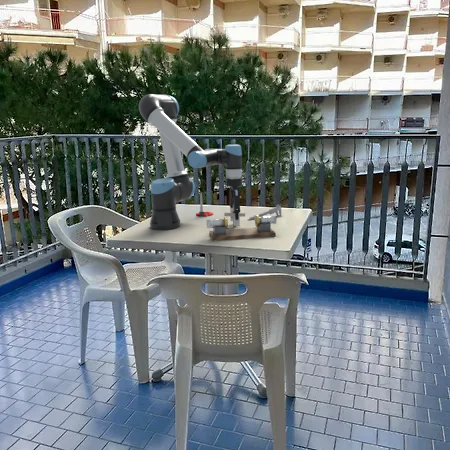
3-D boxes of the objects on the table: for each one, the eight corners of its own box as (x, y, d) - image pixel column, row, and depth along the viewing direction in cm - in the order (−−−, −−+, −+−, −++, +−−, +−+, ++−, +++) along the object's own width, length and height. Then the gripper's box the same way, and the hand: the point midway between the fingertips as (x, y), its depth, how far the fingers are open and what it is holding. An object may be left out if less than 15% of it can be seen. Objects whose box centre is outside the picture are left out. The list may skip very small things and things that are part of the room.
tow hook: (203, 213, 242) (194, 215, 234) (202, 190, 239) (193, 192, 231) (215, 214, 238) (207, 217, 230) (215, 191, 235) (207, 193, 227)
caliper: (280, 215, 228) (280, 203, 226) (281, 215, 227) (281, 204, 225) (247, 220, 219) (247, 208, 218) (248, 220, 218) (248, 208, 217)
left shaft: (208, 235, 185) (207, 220, 183) (206, 232, 191) (205, 217, 189) (228, 234, 186) (227, 218, 184) (226, 231, 192) (225, 215, 190)
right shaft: (257, 232, 187) (257, 216, 186) (254, 229, 193) (254, 213, 192) (277, 230, 189) (277, 215, 187) (273, 227, 194) (273, 212, 193)
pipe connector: (243, 227, 201) (243, 206, 198) (222, 227, 203) (222, 206, 200) (246, 222, 210) (246, 202, 208) (227, 222, 212) (226, 202, 210)
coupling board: (212, 240, 182) (212, 237, 182) (209, 233, 194) (209, 230, 194) (275, 236, 186) (275, 232, 186) (269, 229, 197) (269, 226, 197)
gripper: (246, 180, 190) (246, 228, 196) (237, 174, 212) (238, 217, 217) (229, 181, 189) (230, 229, 195) (223, 175, 211) (224, 218, 217)
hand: (235, 223), depth 206 cm, fingers closed on pipe connector, 10 cm apart
